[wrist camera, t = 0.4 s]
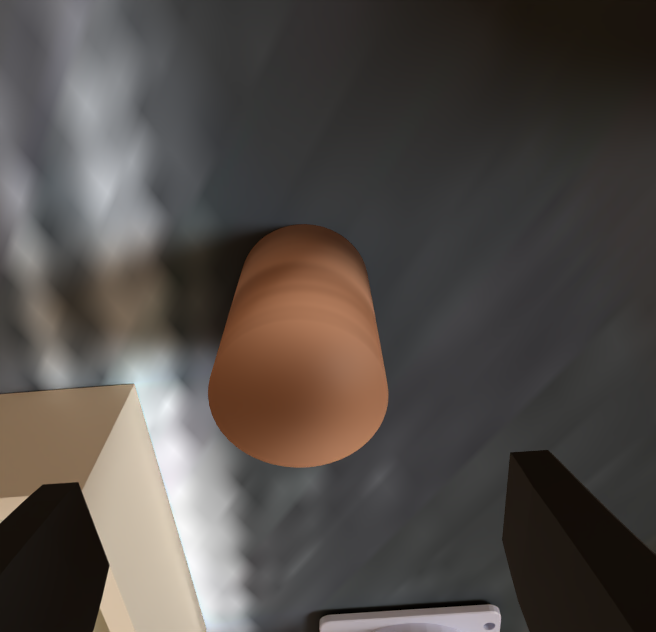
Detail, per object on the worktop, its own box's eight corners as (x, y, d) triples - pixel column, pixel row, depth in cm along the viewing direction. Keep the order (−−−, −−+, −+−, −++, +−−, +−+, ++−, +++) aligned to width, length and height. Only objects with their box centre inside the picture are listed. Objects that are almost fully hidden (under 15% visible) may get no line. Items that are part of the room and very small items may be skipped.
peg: (370, 334, 19) (390, 461, 14) (250, 343, 19) (224, 473, 14) (364, 218, 17) (384, 313, 12) (231, 229, 17) (192, 328, 12)
